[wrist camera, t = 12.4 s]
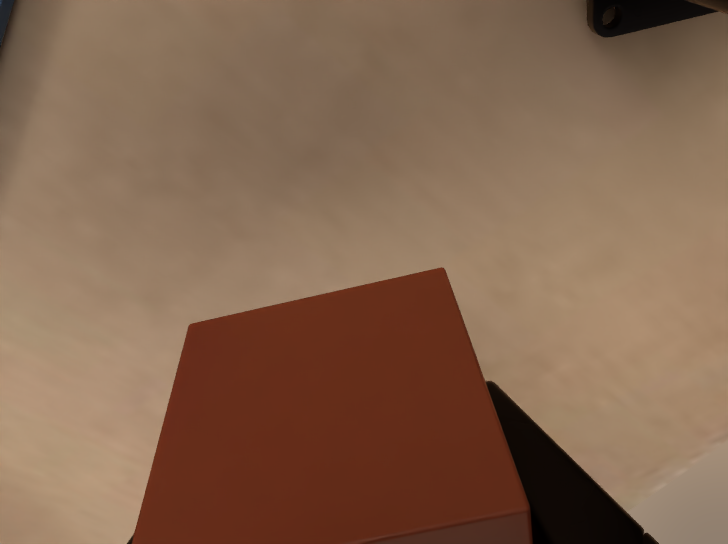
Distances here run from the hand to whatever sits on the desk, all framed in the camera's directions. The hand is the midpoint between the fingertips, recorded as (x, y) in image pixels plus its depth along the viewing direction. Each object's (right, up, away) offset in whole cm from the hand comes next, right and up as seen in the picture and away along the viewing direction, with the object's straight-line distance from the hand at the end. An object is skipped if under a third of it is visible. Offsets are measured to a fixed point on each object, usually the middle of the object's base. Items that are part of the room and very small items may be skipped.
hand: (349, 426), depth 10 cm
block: (0, +1, +1) cm, 1 cm away
